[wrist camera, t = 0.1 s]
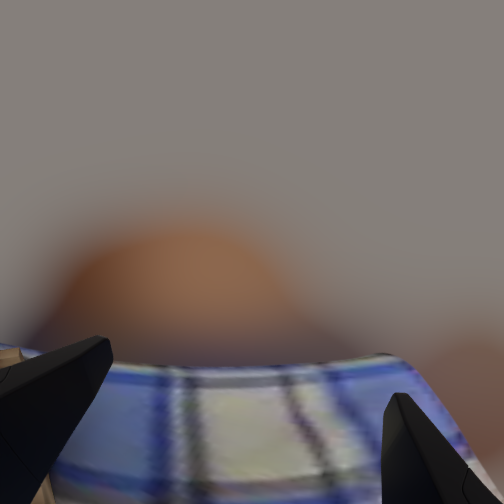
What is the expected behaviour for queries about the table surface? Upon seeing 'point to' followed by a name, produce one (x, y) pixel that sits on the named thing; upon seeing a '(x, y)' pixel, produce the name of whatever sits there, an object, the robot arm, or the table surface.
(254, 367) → the table surface
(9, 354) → the wooden serving tray
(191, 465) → the table surface
